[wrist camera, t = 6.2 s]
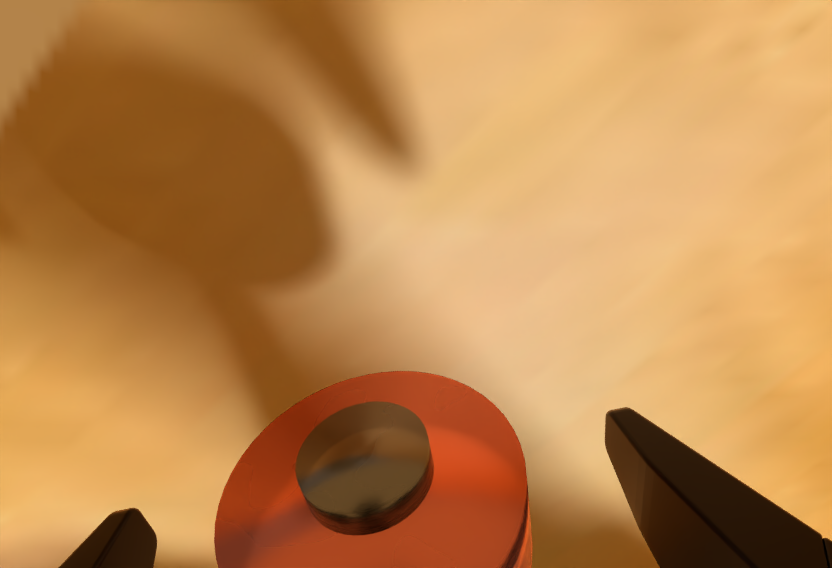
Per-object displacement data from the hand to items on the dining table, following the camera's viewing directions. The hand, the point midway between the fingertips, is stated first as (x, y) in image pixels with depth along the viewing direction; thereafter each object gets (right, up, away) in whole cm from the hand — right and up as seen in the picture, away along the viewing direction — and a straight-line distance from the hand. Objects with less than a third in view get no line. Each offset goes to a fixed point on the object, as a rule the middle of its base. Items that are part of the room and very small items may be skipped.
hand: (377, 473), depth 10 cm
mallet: (+1, -5, +5) cm, 7 cm away
